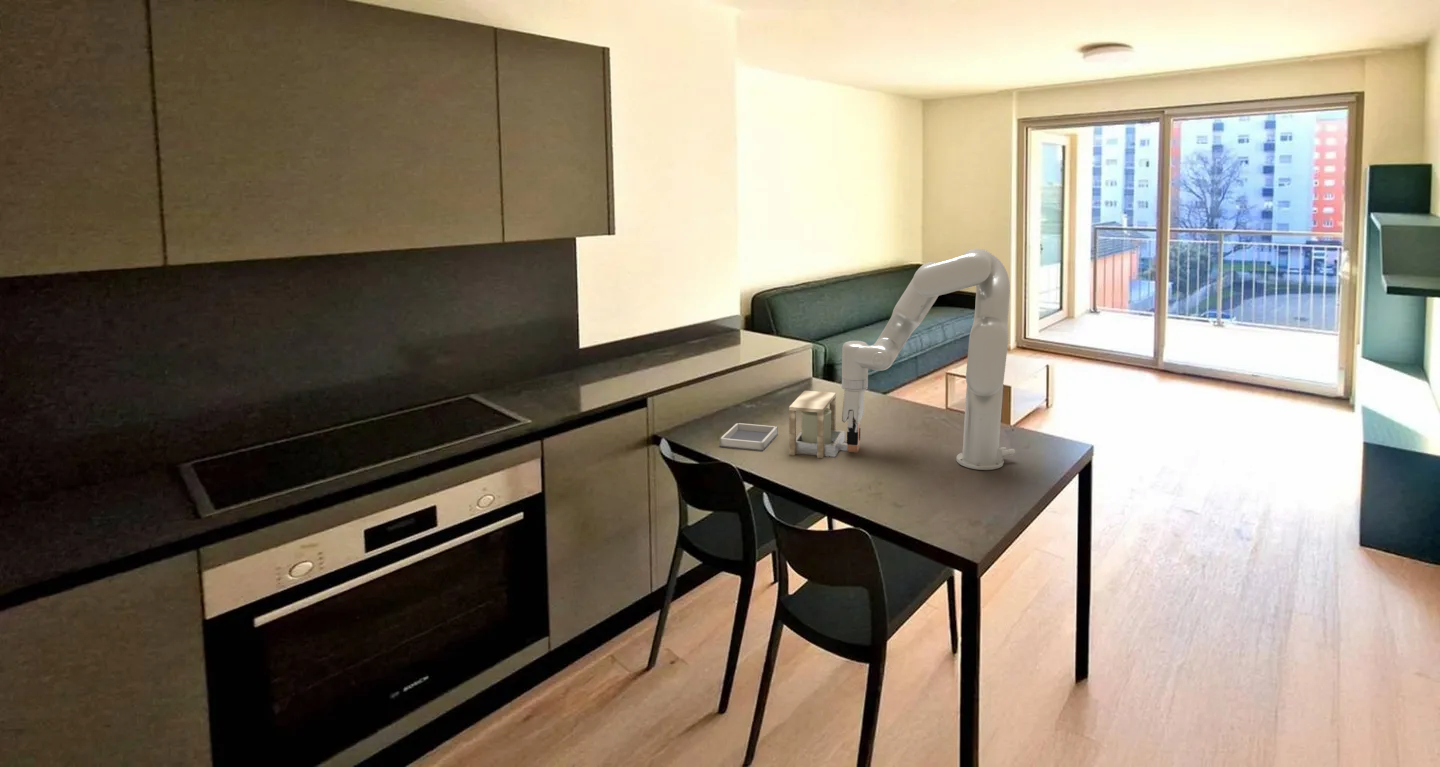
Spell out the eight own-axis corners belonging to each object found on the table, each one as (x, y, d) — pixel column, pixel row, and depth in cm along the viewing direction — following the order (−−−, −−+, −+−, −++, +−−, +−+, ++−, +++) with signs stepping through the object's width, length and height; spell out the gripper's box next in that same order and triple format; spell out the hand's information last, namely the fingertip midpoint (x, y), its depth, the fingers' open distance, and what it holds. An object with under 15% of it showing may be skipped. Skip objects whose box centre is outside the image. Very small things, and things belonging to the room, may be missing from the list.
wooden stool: (835, 438, 233) (835, 392, 229) (822, 458, 217) (822, 409, 213) (804, 435, 237) (804, 390, 233) (789, 455, 221) (789, 406, 217)
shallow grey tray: (862, 443, 228) (862, 412, 226) (853, 458, 216) (854, 426, 213) (803, 437, 235) (803, 407, 232) (792, 452, 222) (792, 421, 220)
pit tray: (777, 434, 239) (777, 426, 238) (763, 451, 224) (762, 442, 224) (736, 430, 244) (736, 422, 243) (719, 446, 229) (719, 438, 229)
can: (833, 451, 222) (833, 413, 219) (802, 452, 222) (802, 414, 219) (829, 441, 231) (829, 404, 228) (799, 442, 231) (799, 405, 228)
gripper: (847, 375, 226) (846, 432, 231) (836, 389, 211) (835, 450, 216) (872, 377, 223) (870, 434, 228) (862, 391, 208) (861, 452, 213)
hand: (853, 441), depth 222 cm, fingers closed on shallow grey tray, 3 cm apart
